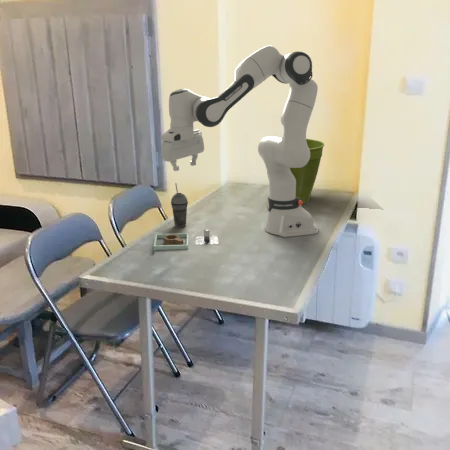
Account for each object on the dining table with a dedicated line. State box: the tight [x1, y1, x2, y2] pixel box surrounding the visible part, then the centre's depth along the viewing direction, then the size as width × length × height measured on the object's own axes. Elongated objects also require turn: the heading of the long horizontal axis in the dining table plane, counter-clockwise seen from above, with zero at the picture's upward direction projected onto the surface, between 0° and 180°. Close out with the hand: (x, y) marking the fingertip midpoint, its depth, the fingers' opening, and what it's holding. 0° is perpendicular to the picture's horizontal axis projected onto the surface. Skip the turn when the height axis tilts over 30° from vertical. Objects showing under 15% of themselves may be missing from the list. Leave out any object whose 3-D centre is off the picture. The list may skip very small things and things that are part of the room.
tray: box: [153, 232, 190, 253], centre depth 207 cm, size 13×13×2 cm
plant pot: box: [266, 138, 325, 204], centre depth 259 cm, size 30×30×29 cm
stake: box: [195, 228, 219, 246], centre depth 209 cm, size 9×9×5 cm
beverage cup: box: [170, 182, 189, 229], centre depth 223 cm, size 7×7×20 cm
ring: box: [163, 233, 185, 245], centre depth 206 cm, size 9×6×3 cm
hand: (184, 168), depth 206 cm, fingers open, 8 cm apart
